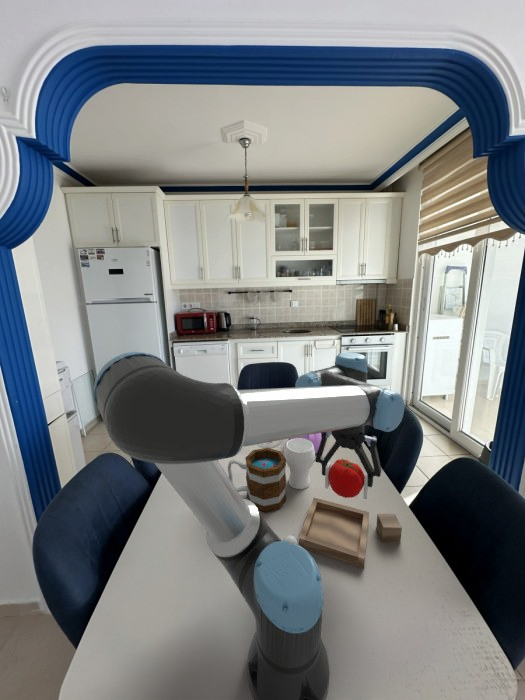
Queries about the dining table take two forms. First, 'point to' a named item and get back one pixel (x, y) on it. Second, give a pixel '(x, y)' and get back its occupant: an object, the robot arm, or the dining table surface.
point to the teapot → (312, 440)
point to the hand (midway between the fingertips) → (346, 490)
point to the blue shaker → (290, 539)
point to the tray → (336, 532)
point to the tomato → (346, 478)
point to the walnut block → (389, 528)
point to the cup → (299, 461)
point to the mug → (263, 478)
